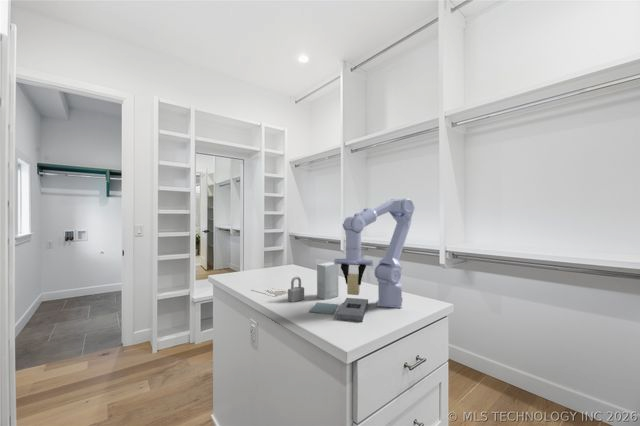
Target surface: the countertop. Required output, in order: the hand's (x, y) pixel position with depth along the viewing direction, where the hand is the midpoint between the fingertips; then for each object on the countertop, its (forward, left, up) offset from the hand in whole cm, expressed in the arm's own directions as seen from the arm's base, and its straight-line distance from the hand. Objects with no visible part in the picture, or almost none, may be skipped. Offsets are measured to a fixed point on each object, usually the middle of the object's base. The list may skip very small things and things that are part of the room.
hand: (353, 284), depth 108 cm
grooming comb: (+43, -18, -11) cm, 48 cm away
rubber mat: (+11, 0, -10) cm, 15 cm away
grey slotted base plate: (0, 0, -10) cm, 10 cm away
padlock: (+26, -8, -10) cm, 29 cm away
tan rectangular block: (0, 0, -3) cm, 3 cm away
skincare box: (+14, -16, -10) cm, 24 cm away
